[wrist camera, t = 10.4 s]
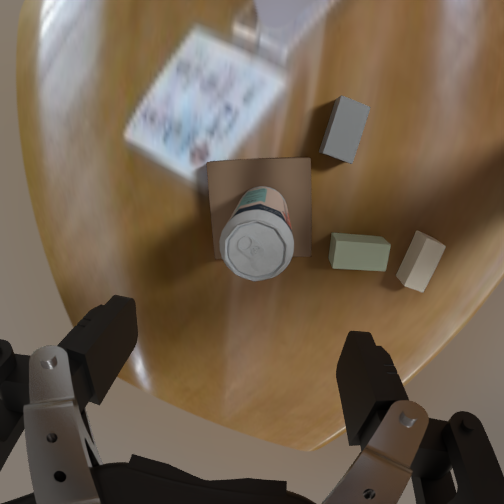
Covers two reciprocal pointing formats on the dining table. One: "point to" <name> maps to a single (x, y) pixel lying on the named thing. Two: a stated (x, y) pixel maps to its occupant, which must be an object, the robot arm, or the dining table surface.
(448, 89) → the dining table surface
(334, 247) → the sage brick
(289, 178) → the walnut slab
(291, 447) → the dining table surface
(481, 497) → the robot arm
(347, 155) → the slate brick
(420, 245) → the cream brick
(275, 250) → the beer can
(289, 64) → the dining table surface
